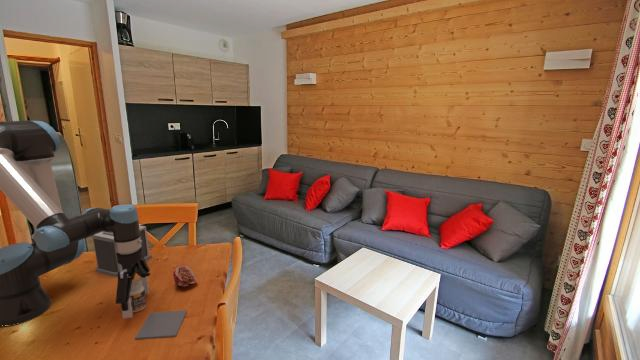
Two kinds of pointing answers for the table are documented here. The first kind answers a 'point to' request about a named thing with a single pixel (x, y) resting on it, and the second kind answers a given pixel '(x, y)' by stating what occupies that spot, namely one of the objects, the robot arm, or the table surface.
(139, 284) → the pill bottle
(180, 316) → the slate coaster
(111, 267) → the grey box
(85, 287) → the table surface
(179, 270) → the flower
